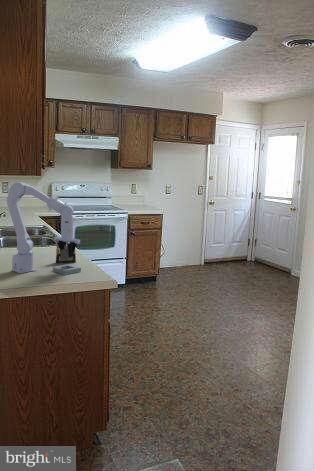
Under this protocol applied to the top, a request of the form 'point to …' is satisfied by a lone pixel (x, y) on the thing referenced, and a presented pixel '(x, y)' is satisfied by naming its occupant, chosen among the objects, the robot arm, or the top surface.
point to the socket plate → (66, 269)
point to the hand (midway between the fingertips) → (67, 256)
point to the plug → (65, 254)
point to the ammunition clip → (64, 260)
